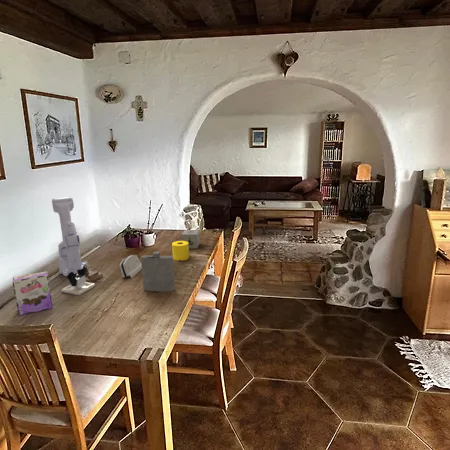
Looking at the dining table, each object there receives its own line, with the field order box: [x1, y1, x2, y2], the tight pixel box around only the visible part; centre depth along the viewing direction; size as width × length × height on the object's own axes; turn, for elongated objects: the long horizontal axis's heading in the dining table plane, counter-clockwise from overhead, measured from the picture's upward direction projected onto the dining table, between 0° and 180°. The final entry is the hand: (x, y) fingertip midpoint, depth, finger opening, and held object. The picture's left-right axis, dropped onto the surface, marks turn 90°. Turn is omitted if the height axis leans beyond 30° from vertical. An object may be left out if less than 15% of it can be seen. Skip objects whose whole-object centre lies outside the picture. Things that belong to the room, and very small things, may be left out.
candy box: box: [12, 271, 53, 316], centre depth 157 cm, size 14×6×16 cm, turn 117°
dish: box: [61, 282, 96, 296], centre depth 178 cm, size 11×11×2 cm
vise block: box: [75, 267, 104, 283], centre depth 190 cm, size 13×10×6 cm
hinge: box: [119, 254, 142, 279], centre depth 198 cm, size 17×5×10 cm, turn 168°
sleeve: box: [69, 274, 86, 289], centre depth 177 cm, size 5×5×5 cm
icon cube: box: [181, 229, 201, 250], centre depth 239 cm, size 10×10×10 cm
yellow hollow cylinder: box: [171, 240, 190, 262], centre depth 219 cm, size 10×10×9 cm
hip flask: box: [140, 250, 176, 292], centre depth 174 cm, size 16×4×20 cm, turn 85°
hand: (77, 283), depth 178 cm, fingers closed on sleeve, 5 cm apart
